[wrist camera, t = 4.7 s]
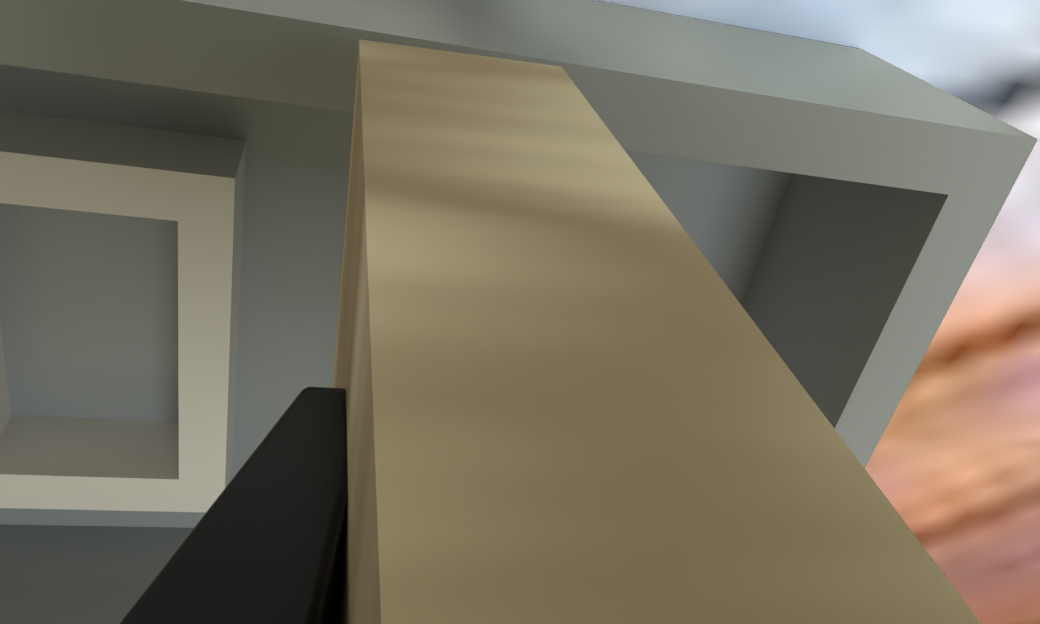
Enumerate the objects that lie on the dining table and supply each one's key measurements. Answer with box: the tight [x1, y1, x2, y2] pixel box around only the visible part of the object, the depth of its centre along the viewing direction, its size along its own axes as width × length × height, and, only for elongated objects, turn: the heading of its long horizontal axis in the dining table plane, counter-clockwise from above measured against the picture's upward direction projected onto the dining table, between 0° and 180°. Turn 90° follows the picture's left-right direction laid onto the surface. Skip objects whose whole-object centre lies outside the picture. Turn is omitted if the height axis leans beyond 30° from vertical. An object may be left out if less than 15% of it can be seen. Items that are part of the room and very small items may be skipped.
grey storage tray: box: [0, 0, 1038, 624], centre depth 18 cm, size 24×16×6 cm, turn 79°
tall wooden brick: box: [333, 39, 981, 624], centre depth 7 cm, size 2×5×10 cm, turn 170°
